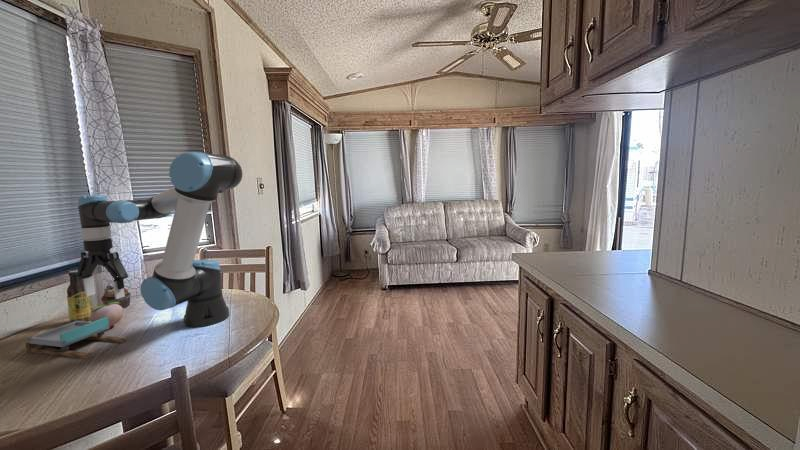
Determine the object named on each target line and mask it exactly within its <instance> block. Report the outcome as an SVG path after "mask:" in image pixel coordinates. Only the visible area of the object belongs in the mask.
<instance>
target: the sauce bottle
mask: <svg viewBox="0 0 800 450" xmlns="http://www.w3.org/2000/svg"><path fill="white" fill-rule="evenodd" d="M77 272H78V269H76V270H70V271H68V276H69V283H70V284H69V285H68V287H67V289H66V294H67V296H66V299H67V307H68V316H69V321H70V323H72V322H75V321H87V322H89V321H91V320H90V315H91V313H92V312H91V311H92V303H91V295H90V296H85V289H84V284H83V279H82V278H81V277H80V276H79V277H78V276H77ZM90 312H91V313H90Z"/></svg>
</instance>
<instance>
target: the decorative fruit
mask: <svg viewBox="0 0 800 450" xmlns="http://www.w3.org/2000/svg"><path fill="white" fill-rule="evenodd" d="M105 303H106V305H104V304H102V305H101V304H100V305H98V306H96V307H94V308H92V309H91V312H92V313H91V312H90V313H91V315H90V320H89V321H90V322H94V321H97V320H99V319H102V318H105V317H108V322H109V329H110V328H111V327H113V326H115V325H116V324H117V323H119V322H120V321H121V320H122V318H123V317H124V309H123V308H122V307H121V306H120V305H118V304H121V303H119V302H111V303H108V304H107V302H105ZM117 303H118V304H117Z"/></svg>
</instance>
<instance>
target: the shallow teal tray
mask: <svg viewBox="0 0 800 450" xmlns="http://www.w3.org/2000/svg"><path fill="white" fill-rule="evenodd" d="M109 329H110V328H109V322H108V317H105V318H102V319H99V320H97V321H94V322H91V321H75V322H72V323H66V324H63V325H61V326H58V327H55V328H53V329H49V330H47V331H44V332H42V333H38V334H35V335H32V336H29V337H28V342H29V343H31V344H37V347H38V348H39V349H40V348H46V346H45V345H47V346H50V347H58V348H59V347H60V350H62V351H66V350H69V351H70V345H72V344H74V343H77V342H80V341H82V340H86V339H85V338H87V337H90V336H92V335H98V336H99V337H100V336H105V331H107V330H109Z"/></svg>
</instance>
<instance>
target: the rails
mask: <svg viewBox="0 0 800 450" xmlns="http://www.w3.org/2000/svg"><path fill="white" fill-rule="evenodd" d="M84 340H90V341H91V340H92V341H101V342H102V341H103V342H111V343H118V344H119V343H121V344H122V343H124V342H126V341H127V339H126V337H121V336H120V337H118V336H109V335H102V336H100V337H99V336H98V335H97V334H95V335H92V336H90V337H87V338H85V339H84ZM47 346H48V345H45V347H43V348H40V349H39V348H38V347H37V344H31V343H29V341H27V342H25V348H26V352H27V353H36V354H37V353H38V354H47V355H54V356H64V357H69V358H70V357H71V358H77V359H78V358H80V359H90V358H91V357H93V353H92V352H87V351H86V352H85V351H78V350H77V351H76V350H75V351H74V350H70V349H69V350H66V351H62V350H61V348H59V349H57V348H52V347H50V348H49V347H47Z"/></svg>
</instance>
